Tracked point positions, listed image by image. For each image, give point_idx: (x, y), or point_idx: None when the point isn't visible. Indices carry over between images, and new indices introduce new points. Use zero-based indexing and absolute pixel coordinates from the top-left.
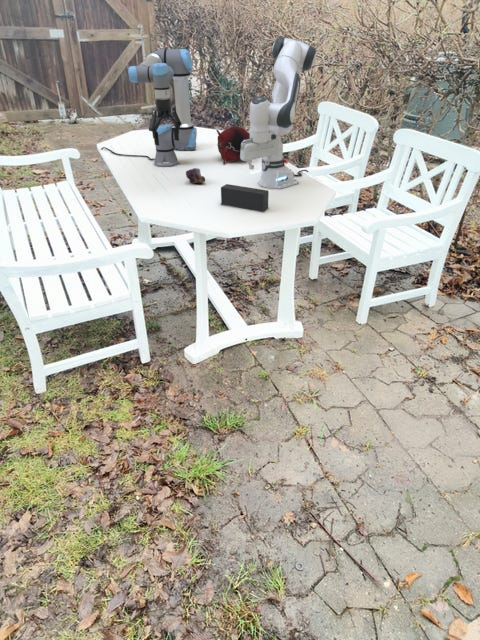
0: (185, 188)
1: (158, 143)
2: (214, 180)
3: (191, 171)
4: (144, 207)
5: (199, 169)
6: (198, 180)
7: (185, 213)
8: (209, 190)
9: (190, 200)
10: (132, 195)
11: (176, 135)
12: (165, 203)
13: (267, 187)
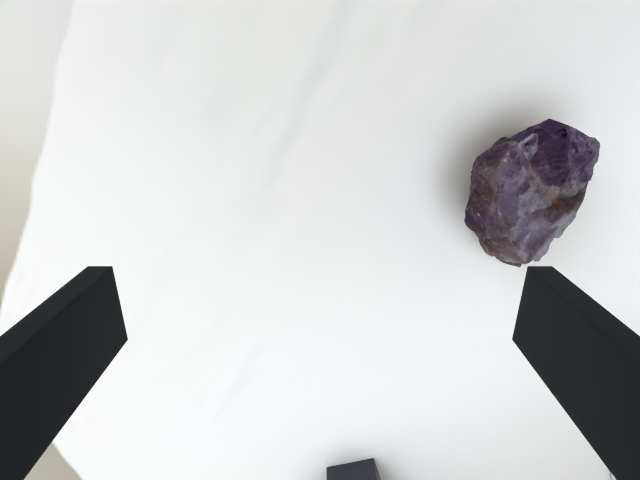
0: (382, 215)
1: (103, 358)
2: (598, 234)
3: (488, 225)
4: (44, 277)
5: (537, 260)
6: (482, 242)
7: (159, 438)
8: (436, 327)
9: (270, 358)
10: (66, 66)
11: (560, 372)
12: (156, 307)
13: (611, 476)
